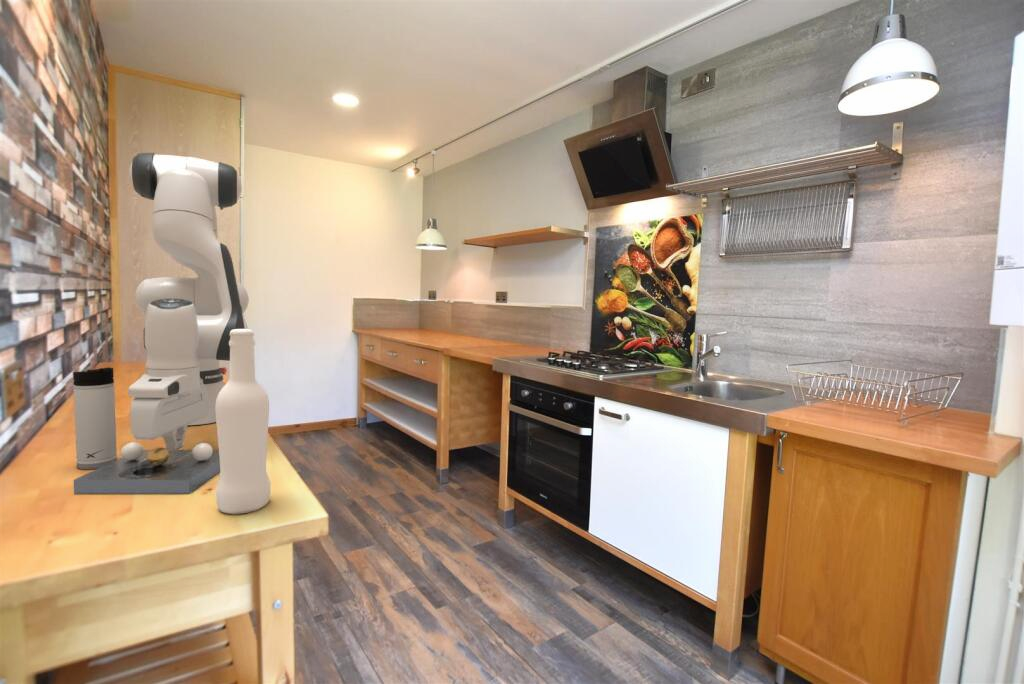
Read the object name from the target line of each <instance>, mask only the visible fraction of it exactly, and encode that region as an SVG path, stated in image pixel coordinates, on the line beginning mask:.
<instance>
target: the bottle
mask: <svg viewBox="0 0 1024 684" xmlns="http://www.w3.org/2000/svg"><path fill="white" fill-rule="evenodd" d="M229 335H230V341H229V346H230V361H229V379H228V381H227V382H226V385H225V386H224V387H223V388H222V389H221V391H220V392H219V394H218V396H217V399H216V404H215V412H216V422H215V423H216V431H217V432H216V433H217V445H218V450H219V458H220V472H219V474H220V475H219V480H218V483H217V485H216V488H215V499H216V500H215V501H216V506H217V508H218V509H219V511H220V512H221V513H224V514H228V515H240V514H241V515H242V514H246V513H253V512H255V511H258V510H260V509H261V508H263V507H266V505H267V504H268V502H269V501H270V497H271V490H272V489H271V480H270V478H269V475H268V473H267V451H268V450H267V449H268V434H269V418H270V417H269V416H270V400H269V396H268V393H267V391H266V389H265V388H264V387H263V386H262V384H261V383H260V382H259V381H257V379H256V372H255V371H256V368H255V367H256V364H255V345H256V341H255V339H254V336H255V333H254V331H253V330H252V329H251V328H250V329H249V328H248V329H233V330H231V331H230V334H229Z"/></svg>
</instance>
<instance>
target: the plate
mask: <svg viewBox="0 0 1024 684" xmlns="http://www.w3.org/2000/svg"><path fill="white" fill-rule="evenodd" d="M164 448H165V449H166V447H164ZM151 450H152V449H143V454H142V456H141V457H140V458H138V459H136V460H133V461H129V460H125V459H124V458H123V457H122V456H121V457H120V458H117V460H115V461H113V462H111V463H109V464H107V465H104V466H102V467H100V468H98V469H93V470H91V471H89V472H87V473H86V474H83V475H81V476H79V477H77V478H74V479H73V494H74V495H79V494H81V495H87V494H88V495H94V494H95V495H99V494H100V495H101V494H102V495H108V494H109V495H112V494H113V495H127V494H128V495H129V494H130V495H131V494H134V495H143V494H144V495H149V494H150V495H161V494H162V495H168V494H169V495H170V494H171V495H175V494H176V495H177V494H179V495H190V494H191V493H192V492H194V491H196V490H197V489H198V488H199V487H201V486H202V485H204V484H206V482H208V481H209V480H211V479H212V478H214V477H215V476H216V475H218V474H220V458H219V449H218V450H214V449H213V453H212V455H211V457H210V458H209V459H207V460H205V461H198V460H196V459H194V458H193V456H192V450H193V449H192V450H190V449H187V450H186V449H183V450H182V449H178V450H176V451H174V452H172V451H168V452H169V459H168V461H167V462H166V463H165V464H163V465H161V466H153V465H150V464H149V463H148V461H147V454H148V453H149V451H151Z"/></svg>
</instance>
